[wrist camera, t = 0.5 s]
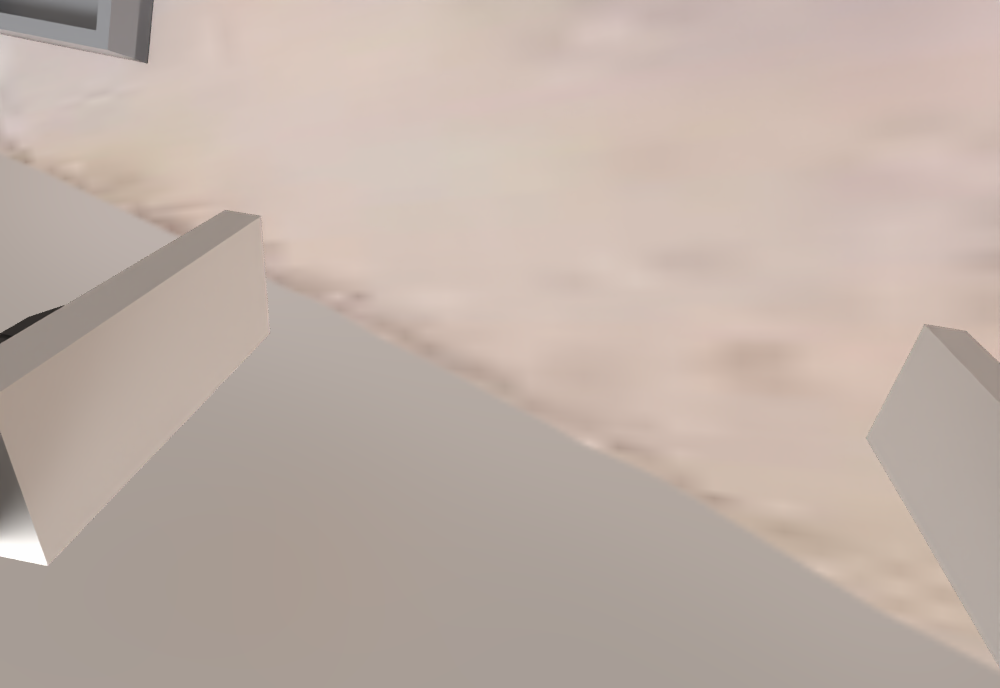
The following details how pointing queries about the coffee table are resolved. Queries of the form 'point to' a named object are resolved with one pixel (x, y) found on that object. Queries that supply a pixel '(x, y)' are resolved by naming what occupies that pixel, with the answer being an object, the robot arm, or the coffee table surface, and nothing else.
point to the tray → (82, 24)
